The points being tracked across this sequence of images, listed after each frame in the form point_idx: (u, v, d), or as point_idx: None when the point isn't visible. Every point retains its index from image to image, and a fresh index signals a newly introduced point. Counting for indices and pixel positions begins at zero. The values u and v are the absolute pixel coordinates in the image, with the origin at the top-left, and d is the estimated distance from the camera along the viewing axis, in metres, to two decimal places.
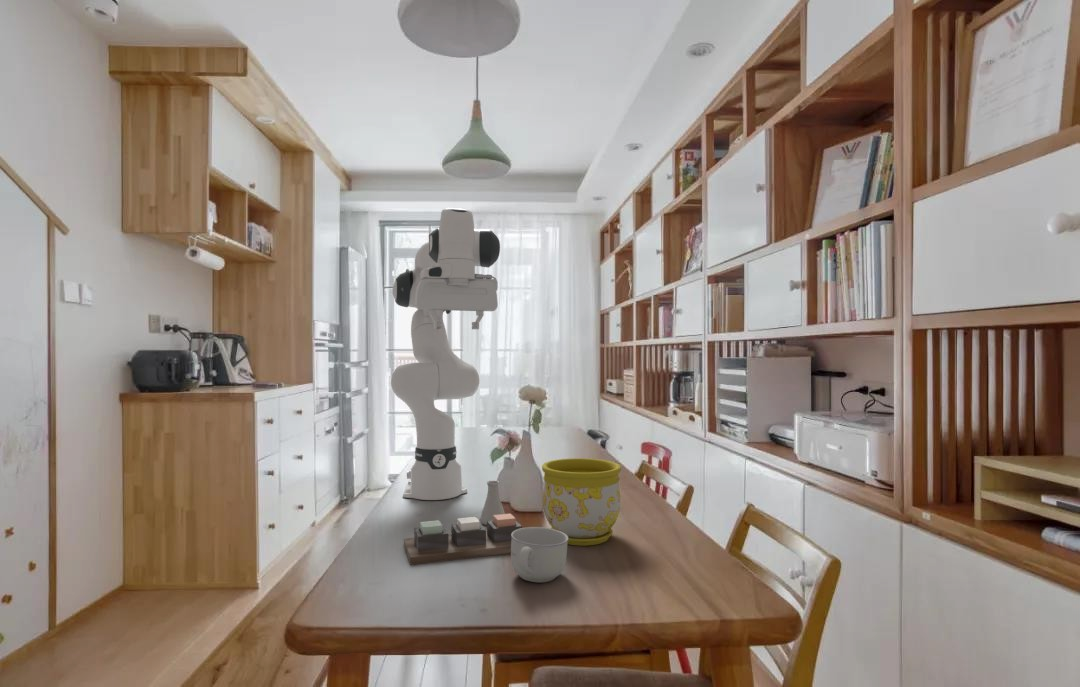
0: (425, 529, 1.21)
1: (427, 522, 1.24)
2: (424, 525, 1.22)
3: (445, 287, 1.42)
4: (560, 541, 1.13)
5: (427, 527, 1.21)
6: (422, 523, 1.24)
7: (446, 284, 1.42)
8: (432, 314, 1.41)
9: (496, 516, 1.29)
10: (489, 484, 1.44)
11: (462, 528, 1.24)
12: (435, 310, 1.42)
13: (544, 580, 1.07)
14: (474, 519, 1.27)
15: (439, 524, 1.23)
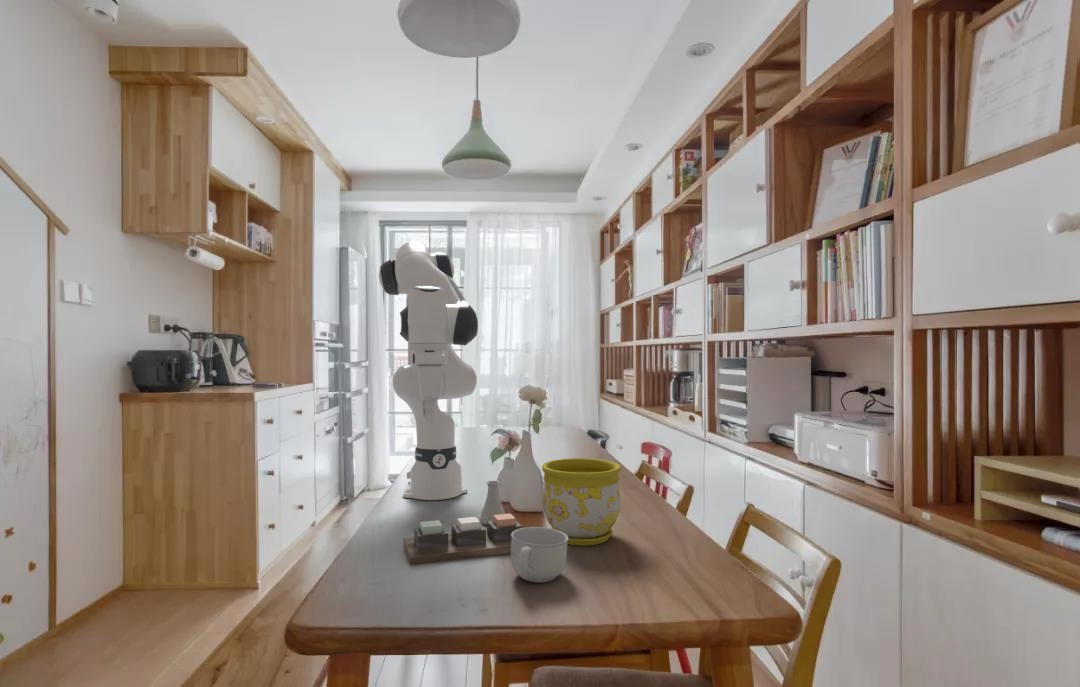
0: (425, 529, 1.21)
1: (427, 522, 1.24)
2: (424, 525, 1.22)
3: None
4: (560, 541, 1.13)
5: (427, 527, 1.21)
6: (422, 523, 1.24)
7: None
8: (434, 405, 1.26)
9: (496, 516, 1.29)
10: (489, 484, 1.44)
11: (462, 528, 1.24)
12: None
13: (544, 580, 1.07)
14: (474, 519, 1.27)
15: (439, 524, 1.23)
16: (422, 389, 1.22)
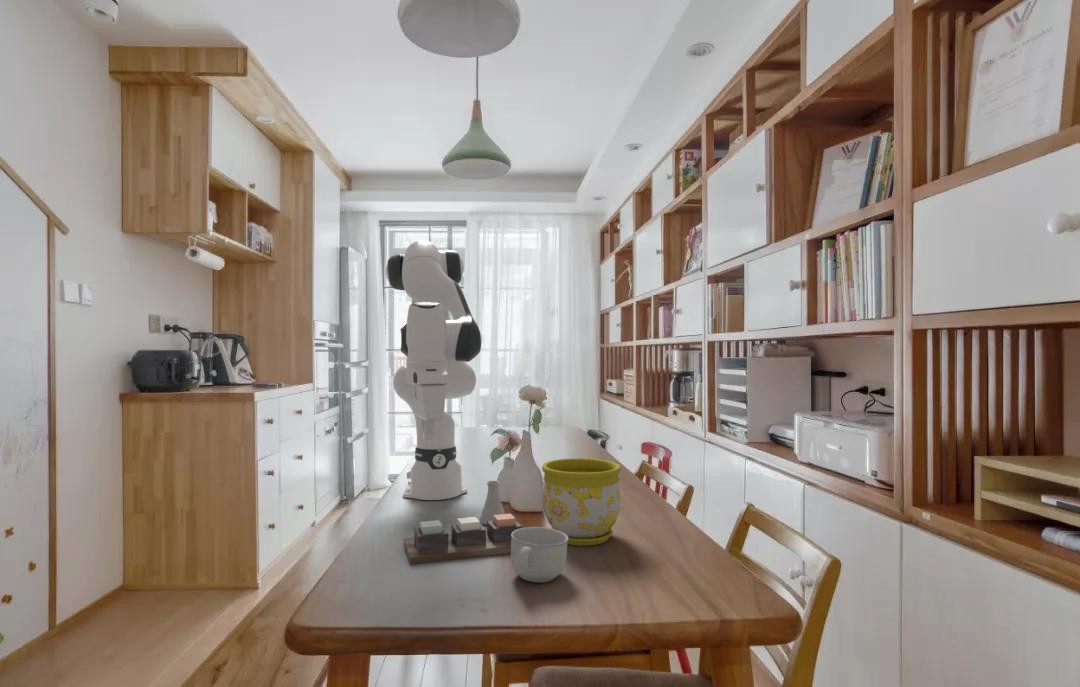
0: (425, 529, 1.21)
1: (427, 522, 1.24)
2: (424, 525, 1.22)
3: None
4: (560, 541, 1.13)
5: (427, 527, 1.21)
6: (422, 523, 1.24)
7: None
8: (433, 423, 1.26)
9: (496, 516, 1.29)
10: (489, 484, 1.44)
11: (462, 528, 1.24)
12: None
13: (544, 580, 1.07)
14: (474, 519, 1.27)
15: (439, 524, 1.23)
16: (426, 410, 1.18)
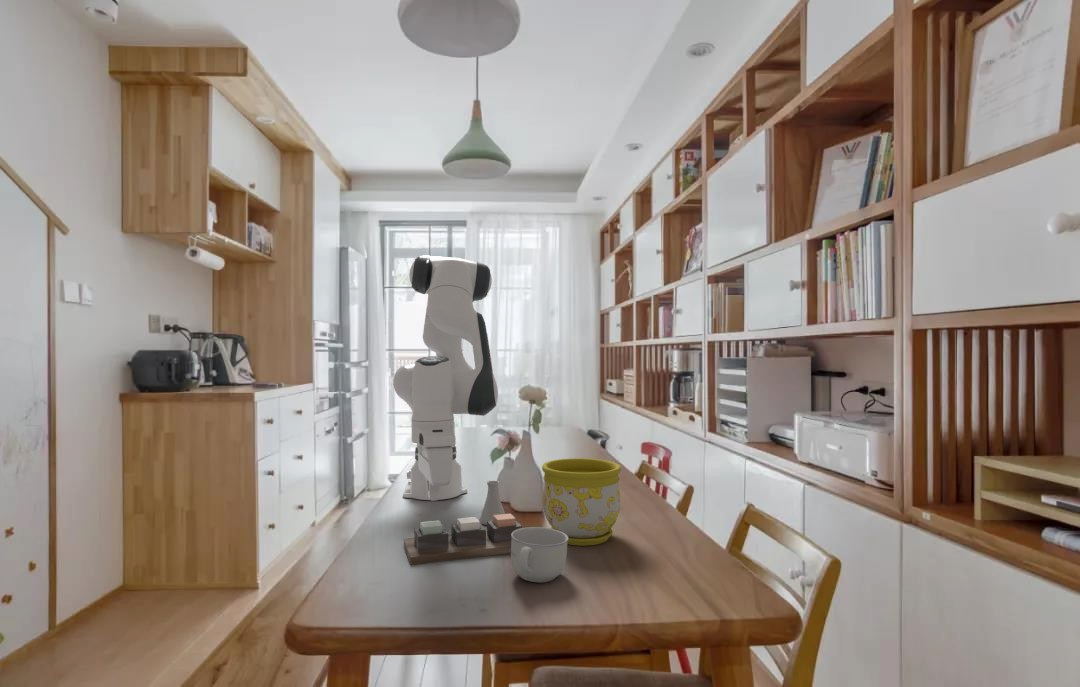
0: (425, 529, 1.21)
1: (427, 522, 1.24)
2: (424, 525, 1.22)
3: None
4: (560, 541, 1.13)
5: (427, 527, 1.21)
6: (422, 523, 1.24)
7: None
8: None
9: (496, 516, 1.29)
10: (489, 484, 1.44)
11: (462, 528, 1.24)
12: None
13: (544, 580, 1.07)
14: (474, 519, 1.27)
15: (439, 524, 1.23)
16: (432, 475, 1.14)
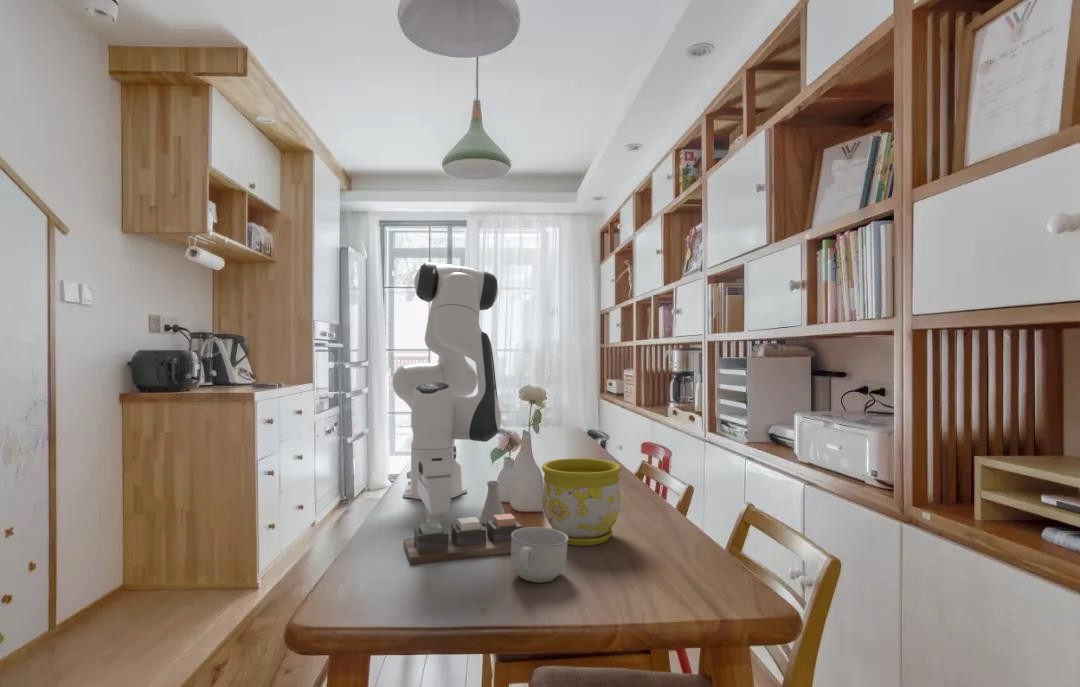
0: (425, 532, 1.21)
1: (427, 525, 1.24)
2: (424, 528, 1.22)
3: None
4: (560, 541, 1.13)
5: (427, 529, 1.21)
6: (422, 525, 1.24)
7: None
8: None
9: (496, 516, 1.29)
10: (489, 484, 1.44)
11: (462, 528, 1.24)
12: None
13: (544, 580, 1.07)
14: (474, 519, 1.27)
15: (439, 526, 1.23)
16: (431, 505, 1.14)
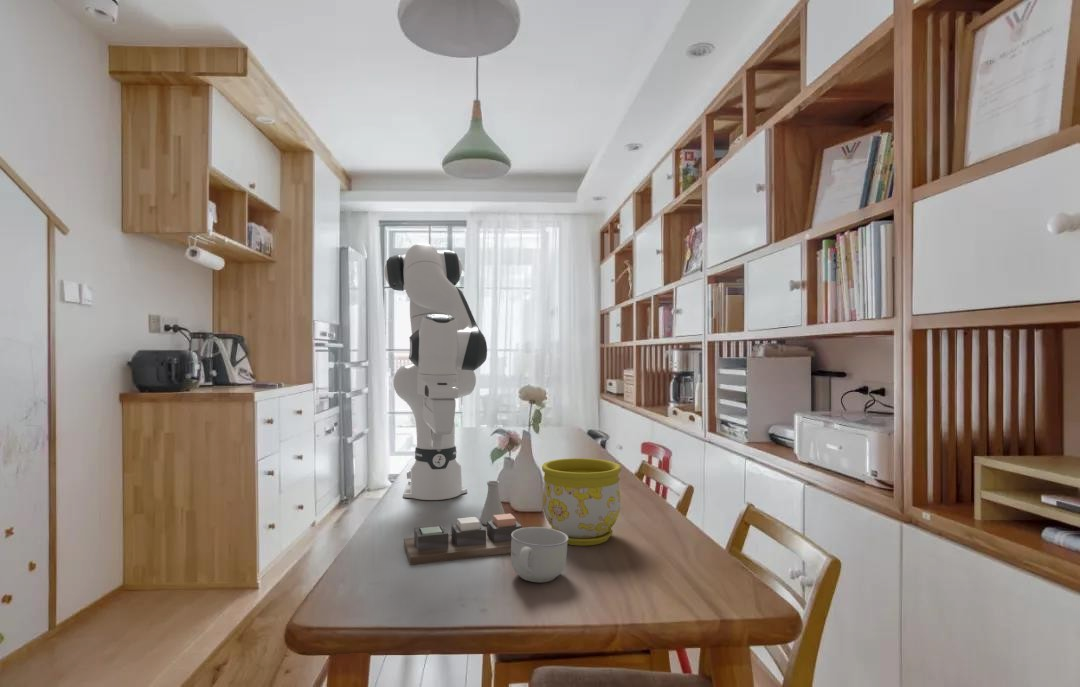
0: None
1: (427, 528, 1.24)
2: (424, 532, 1.22)
3: None
4: (560, 541, 1.13)
5: (426, 533, 1.21)
6: (422, 529, 1.24)
7: None
8: None
9: (496, 516, 1.29)
10: (489, 484, 1.44)
11: (462, 528, 1.24)
12: None
13: (544, 580, 1.07)
14: (474, 519, 1.27)
15: (439, 530, 1.23)
16: (436, 424, 1.22)
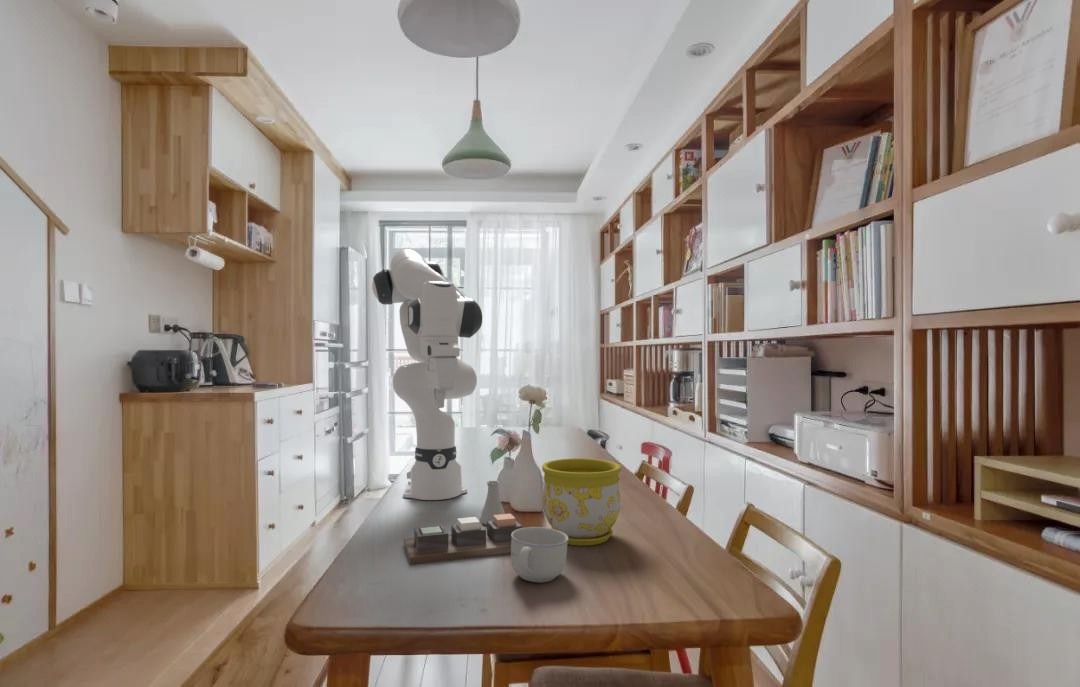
0: None
1: (427, 528, 1.24)
2: (424, 532, 1.22)
3: None
4: (560, 541, 1.13)
5: (426, 533, 1.21)
6: (422, 529, 1.24)
7: None
8: None
9: (496, 516, 1.29)
10: (489, 484, 1.44)
11: (462, 528, 1.24)
12: None
13: (544, 580, 1.07)
14: (474, 519, 1.27)
15: (439, 530, 1.23)
16: (439, 380, 1.29)
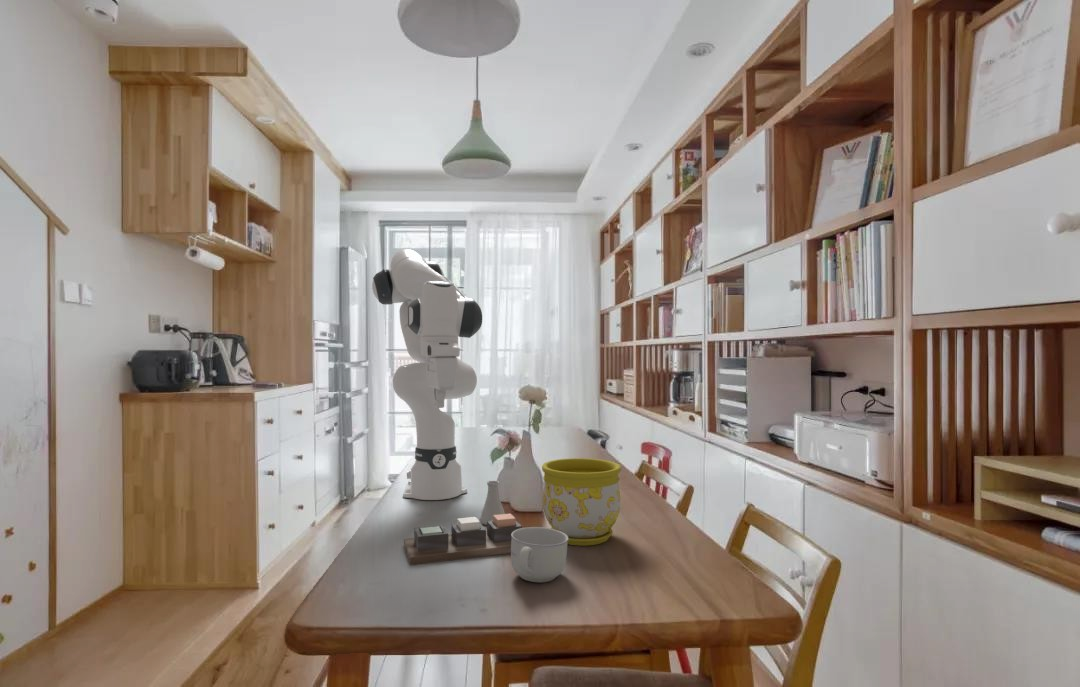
0: None
1: (427, 528, 1.24)
2: (424, 532, 1.22)
3: None
4: (560, 541, 1.13)
5: (426, 533, 1.21)
6: (422, 529, 1.24)
7: None
8: (445, 393, 1.37)
9: (496, 516, 1.29)
10: (489, 484, 1.44)
11: (462, 528, 1.24)
12: None
13: (544, 580, 1.07)
14: (474, 519, 1.27)
15: (439, 530, 1.23)
16: (439, 380, 1.29)
